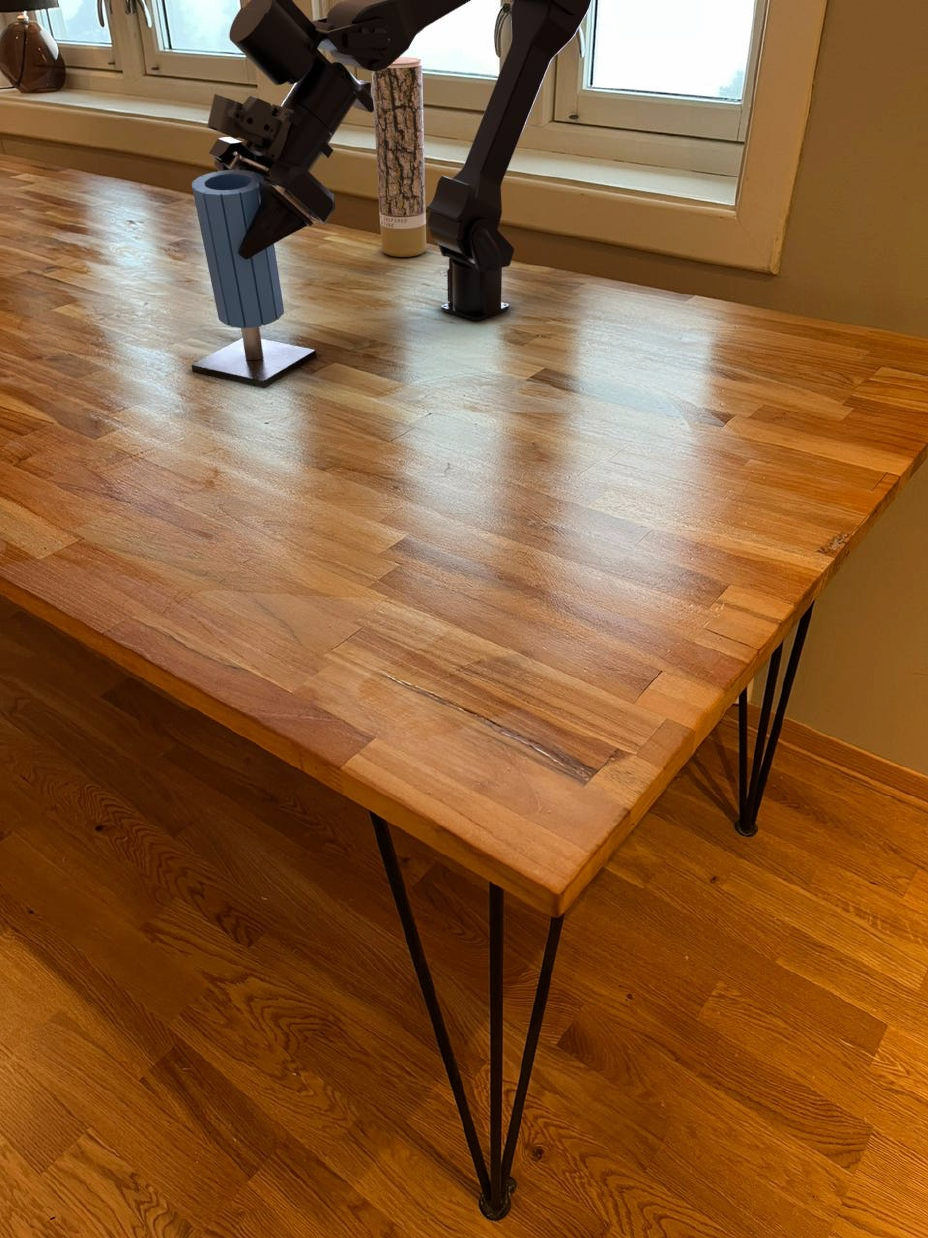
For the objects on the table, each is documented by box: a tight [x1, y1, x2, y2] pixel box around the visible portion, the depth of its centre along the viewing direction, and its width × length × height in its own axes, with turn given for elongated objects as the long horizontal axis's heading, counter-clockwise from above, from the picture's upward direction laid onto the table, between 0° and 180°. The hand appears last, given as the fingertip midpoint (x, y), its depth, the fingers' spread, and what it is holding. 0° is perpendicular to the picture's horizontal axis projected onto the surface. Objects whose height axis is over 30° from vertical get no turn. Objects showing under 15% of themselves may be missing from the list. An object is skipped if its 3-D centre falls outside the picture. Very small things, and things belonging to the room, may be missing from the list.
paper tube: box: [371, 56, 427, 258], centre depth 133 cm, size 7×7×25 cm
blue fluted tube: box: [191, 170, 285, 329], centre depth 99 cm, size 7×7×14 cm
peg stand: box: [190, 327, 317, 389], centre depth 105 cm, size 10×10×5 cm
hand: (226, 247), depth 98 cm, fingers closed on blue fluted tube, 7 cm apart
